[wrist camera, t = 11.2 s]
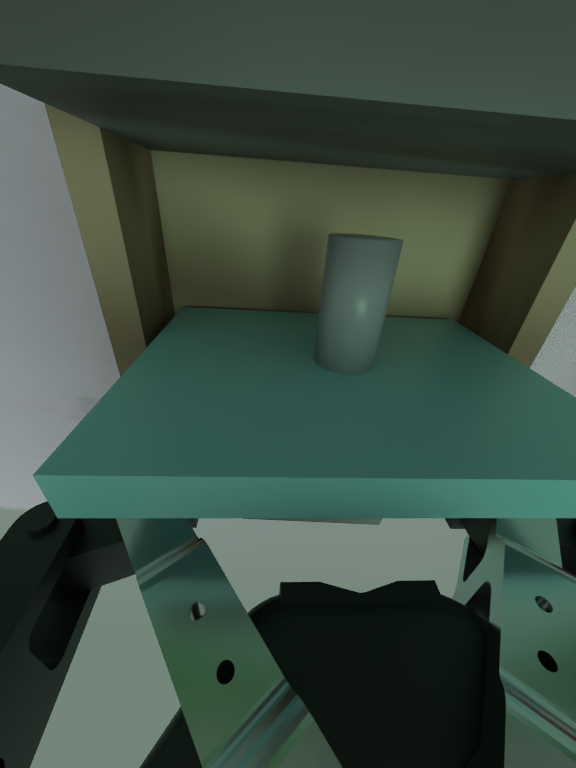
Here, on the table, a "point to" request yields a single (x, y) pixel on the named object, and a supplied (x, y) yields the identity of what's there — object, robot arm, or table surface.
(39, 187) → the table surface
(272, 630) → the robot arm
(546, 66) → the pusher lane
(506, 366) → the bar
